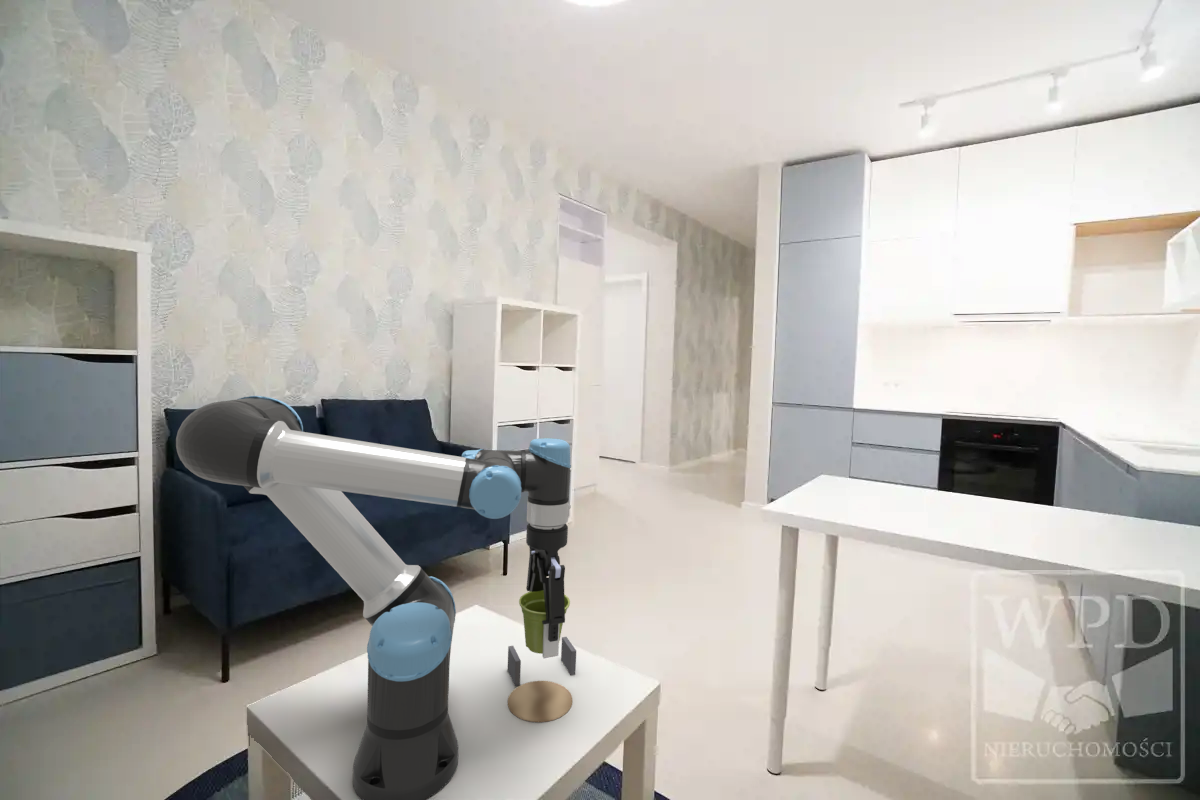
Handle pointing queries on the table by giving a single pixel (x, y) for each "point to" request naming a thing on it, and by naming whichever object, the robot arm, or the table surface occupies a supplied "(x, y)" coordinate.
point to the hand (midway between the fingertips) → (542, 643)
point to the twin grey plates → (566, 657)
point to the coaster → (539, 701)
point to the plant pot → (536, 619)
